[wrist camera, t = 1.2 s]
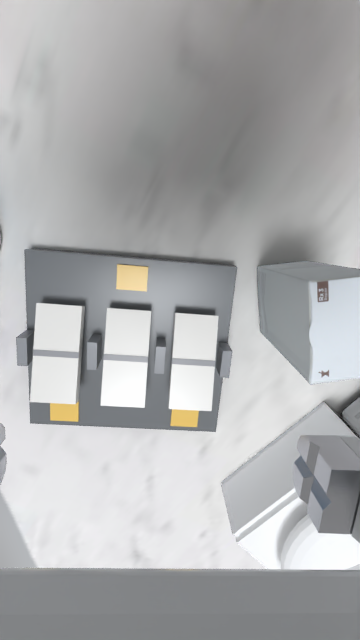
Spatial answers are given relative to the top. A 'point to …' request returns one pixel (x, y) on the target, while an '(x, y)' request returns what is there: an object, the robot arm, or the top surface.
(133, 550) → the top surface
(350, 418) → the stereo radio cassette player
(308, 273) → the skincare box
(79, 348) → the block
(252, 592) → the robot arm
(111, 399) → the rocker
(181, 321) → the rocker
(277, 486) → the white domed box
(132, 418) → the switch unit
